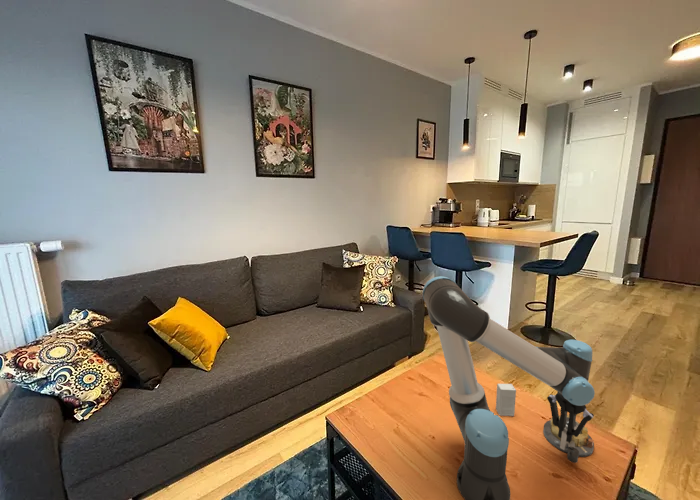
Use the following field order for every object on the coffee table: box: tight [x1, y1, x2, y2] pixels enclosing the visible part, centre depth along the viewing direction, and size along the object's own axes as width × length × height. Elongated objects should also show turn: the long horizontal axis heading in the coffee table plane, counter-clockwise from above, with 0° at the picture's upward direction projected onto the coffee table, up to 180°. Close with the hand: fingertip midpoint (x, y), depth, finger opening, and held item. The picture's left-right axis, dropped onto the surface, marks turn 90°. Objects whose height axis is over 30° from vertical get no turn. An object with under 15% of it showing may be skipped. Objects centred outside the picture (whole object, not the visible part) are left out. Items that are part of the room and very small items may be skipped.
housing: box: [542, 417, 595, 458], centre depth 110 cm, size 15×15×8 cm
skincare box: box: [495, 383, 517, 417], centre depth 124 cm, size 6×4×12 cm
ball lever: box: [550, 414, 589, 464], centre depth 107 cm, size 19×11×4 cm, turn 150°
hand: (563, 447), depth 104 cm, fingers closed
